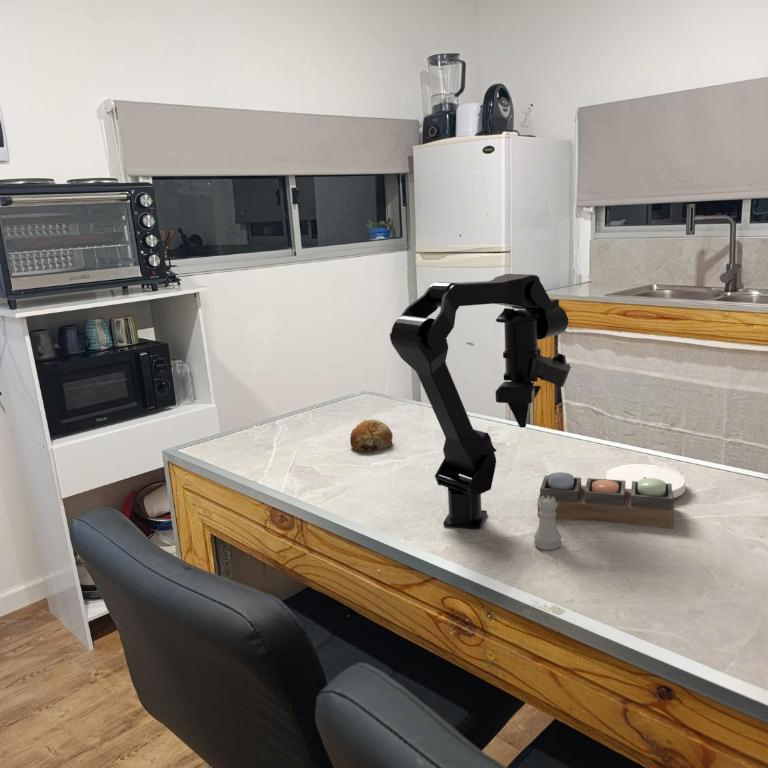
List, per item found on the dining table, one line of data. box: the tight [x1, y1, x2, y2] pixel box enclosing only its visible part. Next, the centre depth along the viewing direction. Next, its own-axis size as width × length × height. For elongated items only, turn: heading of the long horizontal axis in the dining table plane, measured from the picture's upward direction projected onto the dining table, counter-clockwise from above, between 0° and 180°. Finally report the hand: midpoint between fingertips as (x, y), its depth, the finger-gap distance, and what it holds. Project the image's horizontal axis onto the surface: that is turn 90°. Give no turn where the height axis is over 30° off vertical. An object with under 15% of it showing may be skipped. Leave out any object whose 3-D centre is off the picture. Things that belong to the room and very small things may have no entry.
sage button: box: [638, 478, 666, 497], centre depth 119 cm, size 4×4×2 cm
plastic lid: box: [604, 463, 686, 499], centre depth 131 cm, size 14×14×2 cm
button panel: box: [537, 474, 675, 529], centre depth 123 cm, size 8×22×5 cm, turn 70°
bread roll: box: [349, 419, 394, 453], centre depth 165 cm, size 10×10×8 cm
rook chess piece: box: [533, 496, 563, 551], centre depth 112 cm, size 4×4×8 cm
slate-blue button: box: [547, 471, 574, 490], centre depth 125 cm, size 4×4×2 cm
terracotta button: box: [592, 480, 619, 494], centre depth 122 cm, size 4×4×2 cm
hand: (522, 426), depth 131 cm, fingers closed
